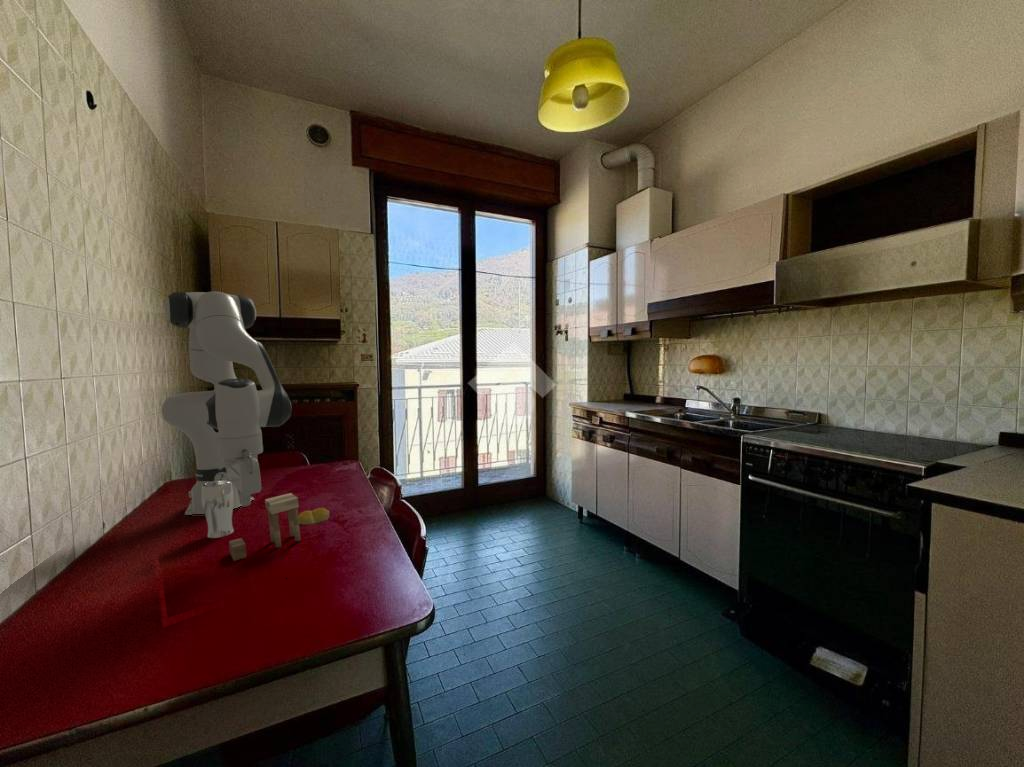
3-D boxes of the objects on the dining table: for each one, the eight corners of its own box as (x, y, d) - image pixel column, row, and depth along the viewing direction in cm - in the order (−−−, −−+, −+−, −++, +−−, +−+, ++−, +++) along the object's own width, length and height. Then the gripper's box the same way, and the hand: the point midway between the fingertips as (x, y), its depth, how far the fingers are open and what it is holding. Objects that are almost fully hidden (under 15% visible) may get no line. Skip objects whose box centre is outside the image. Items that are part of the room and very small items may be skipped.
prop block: (230, 554, 99) (229, 541, 98) (242, 550, 100) (241, 537, 100) (233, 561, 95) (232, 547, 95) (246, 557, 97) (245, 543, 97)
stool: (269, 541, 105) (264, 499, 104) (295, 533, 109) (290, 492, 108) (275, 548, 100) (270, 504, 100) (302, 540, 104) (297, 497, 104)
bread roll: (296, 521, 122) (295, 508, 122) (329, 515, 125) (329, 503, 125) (295, 531, 114) (293, 517, 114) (330, 525, 118) (329, 511, 118)
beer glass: (242, 532, 115) (238, 478, 114) (222, 542, 108) (218, 486, 107) (219, 532, 116) (215, 479, 115) (198, 542, 109) (193, 486, 108)
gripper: (266, 451, 93) (270, 511, 93) (247, 440, 108) (251, 492, 108) (233, 456, 88) (237, 519, 89) (218, 444, 103) (222, 498, 104)
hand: (245, 504), depth 99 cm, fingers closed
